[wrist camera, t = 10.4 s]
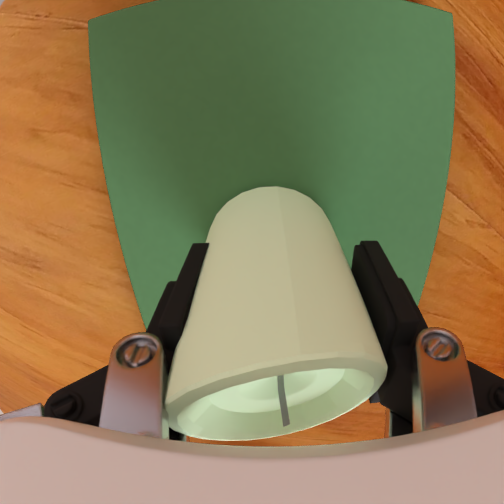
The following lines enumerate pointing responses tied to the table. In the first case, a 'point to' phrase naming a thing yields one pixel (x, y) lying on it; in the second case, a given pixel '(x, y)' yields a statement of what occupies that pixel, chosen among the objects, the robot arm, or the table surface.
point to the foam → (273, 122)
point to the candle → (272, 326)
